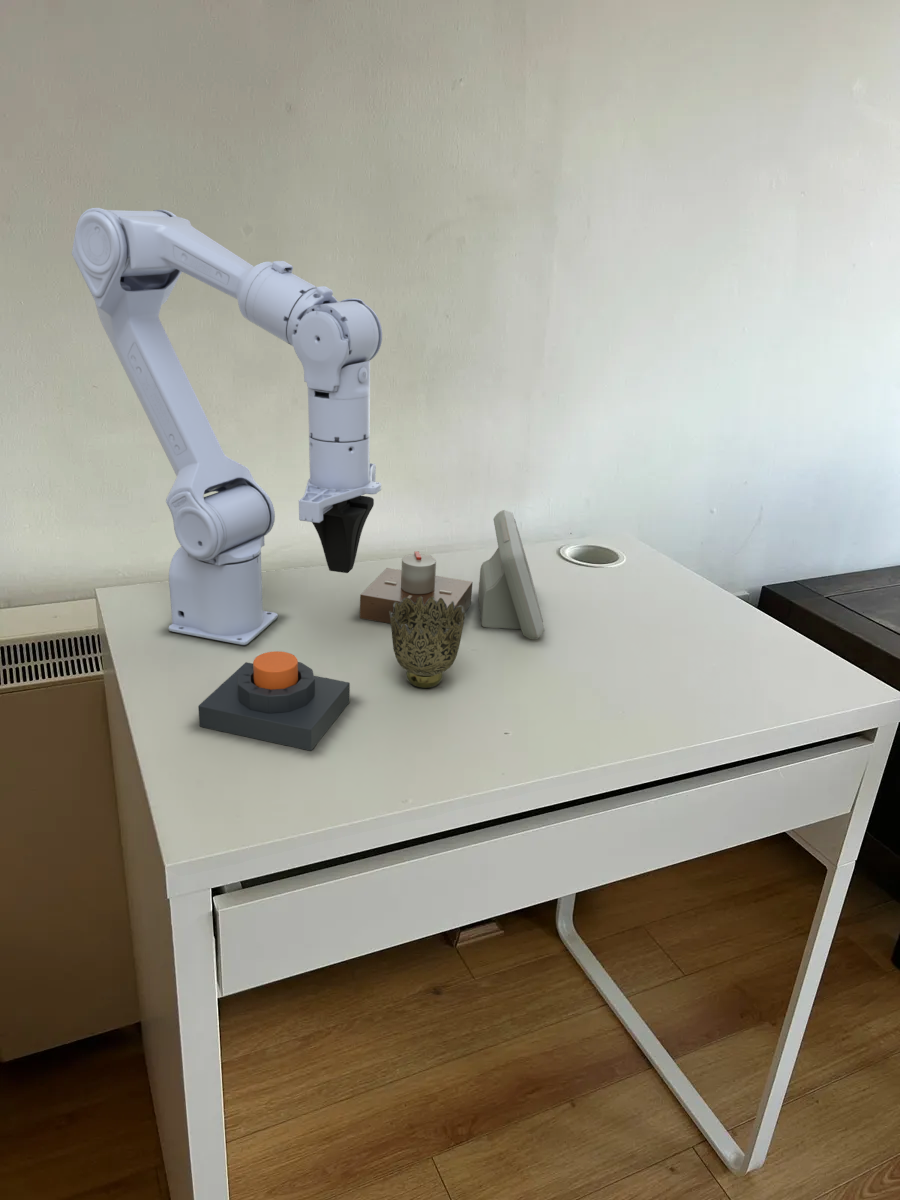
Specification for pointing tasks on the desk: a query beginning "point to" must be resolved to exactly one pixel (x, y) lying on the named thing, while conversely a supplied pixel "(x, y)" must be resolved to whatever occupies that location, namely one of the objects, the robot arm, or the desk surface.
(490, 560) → the digital clock
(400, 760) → the desk surface
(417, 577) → the dial
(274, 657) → the orange button cap
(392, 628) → the cup
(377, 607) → the dial panel
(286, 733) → the button base
